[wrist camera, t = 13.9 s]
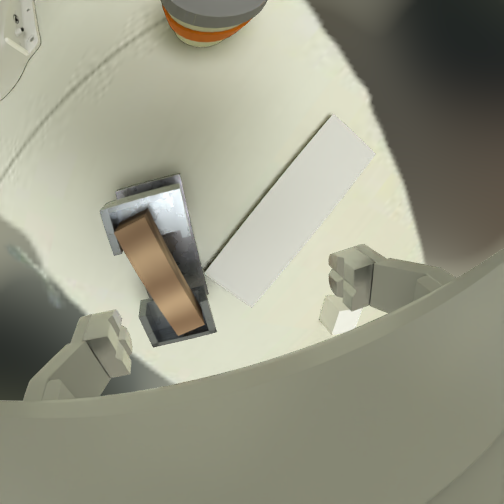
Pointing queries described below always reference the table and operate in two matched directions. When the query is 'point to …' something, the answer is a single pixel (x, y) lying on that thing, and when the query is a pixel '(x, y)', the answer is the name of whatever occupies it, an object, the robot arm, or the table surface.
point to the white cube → (338, 315)
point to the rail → (159, 271)
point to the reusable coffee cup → (209, 18)
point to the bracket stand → (177, 240)
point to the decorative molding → (291, 212)
